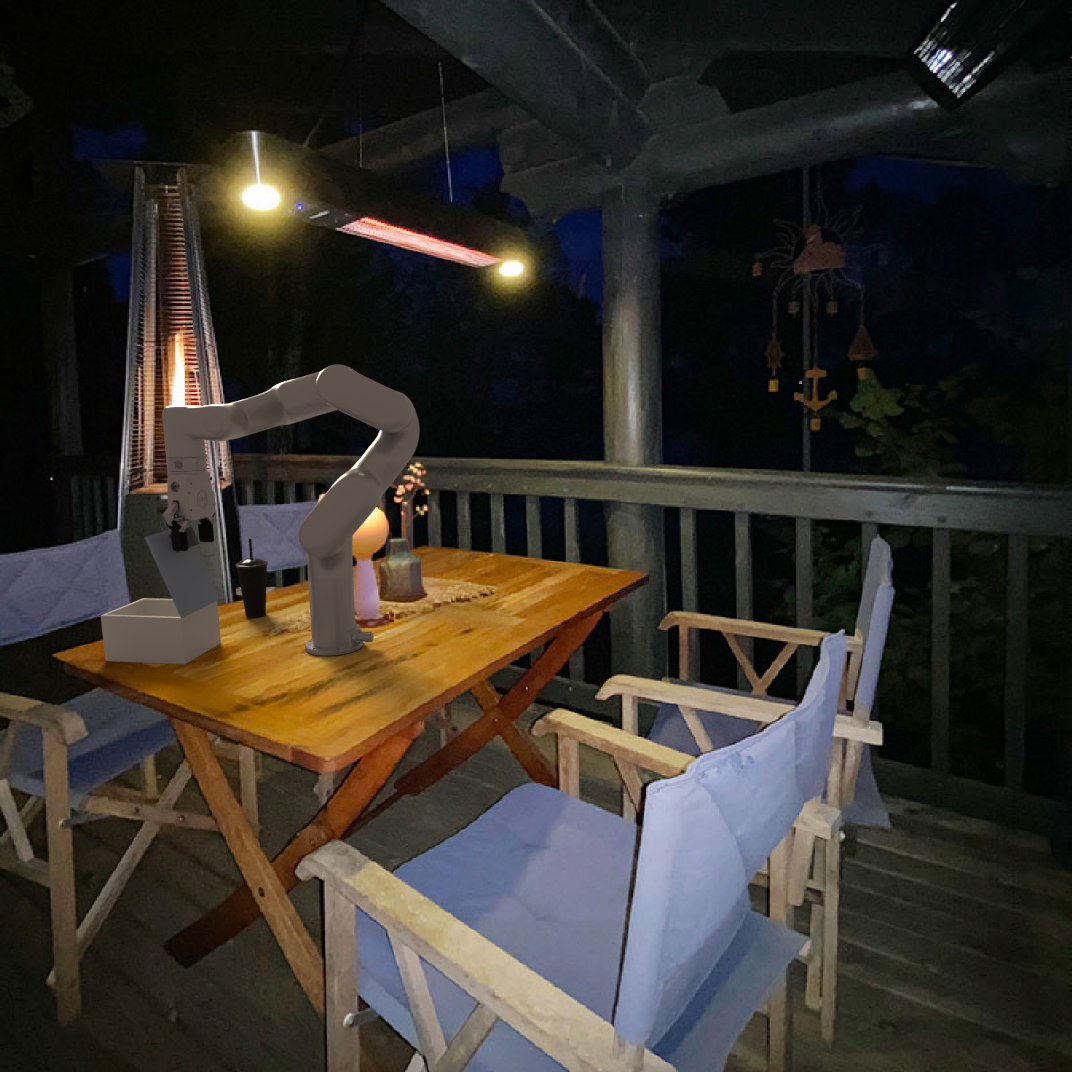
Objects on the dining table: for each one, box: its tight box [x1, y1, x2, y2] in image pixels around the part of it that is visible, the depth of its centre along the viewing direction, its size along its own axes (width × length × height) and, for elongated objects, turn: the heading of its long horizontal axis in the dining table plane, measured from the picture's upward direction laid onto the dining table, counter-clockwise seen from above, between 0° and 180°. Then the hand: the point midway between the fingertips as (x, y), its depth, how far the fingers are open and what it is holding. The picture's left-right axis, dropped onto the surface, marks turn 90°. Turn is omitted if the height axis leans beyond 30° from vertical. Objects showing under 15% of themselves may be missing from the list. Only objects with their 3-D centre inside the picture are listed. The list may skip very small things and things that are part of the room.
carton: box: [100, 597, 222, 665], centre depth 164 cm, size 18×14×10 cm
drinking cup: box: [235, 538, 269, 619], centre depth 190 cm, size 8×8×20 cm
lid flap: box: [144, 524, 221, 618], centre depth 160 cm, size 18×14×6 cm
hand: (194, 546), depth 159 cm, fingers open, 9 cm apart
